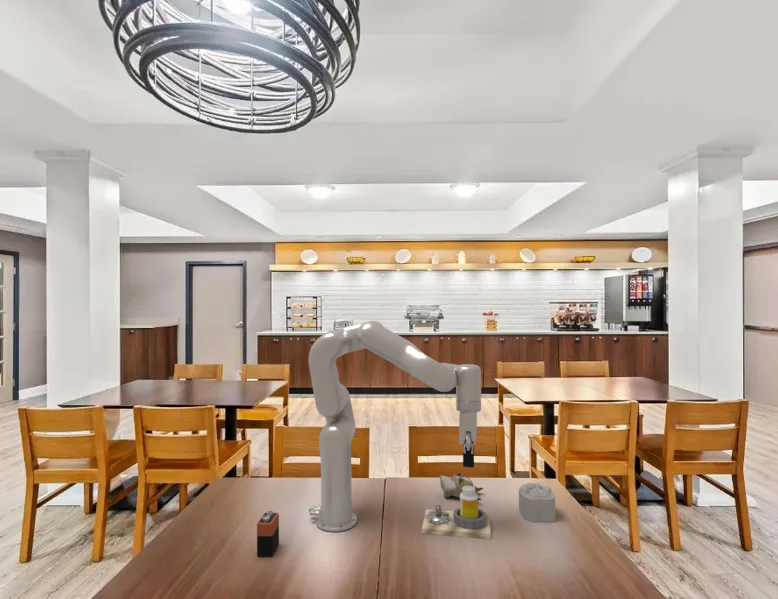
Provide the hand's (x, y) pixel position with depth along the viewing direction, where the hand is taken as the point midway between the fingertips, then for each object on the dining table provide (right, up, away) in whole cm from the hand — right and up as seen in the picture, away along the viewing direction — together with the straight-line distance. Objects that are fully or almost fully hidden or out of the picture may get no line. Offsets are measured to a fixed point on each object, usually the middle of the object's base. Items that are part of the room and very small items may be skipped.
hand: (468, 461), depth 142 cm
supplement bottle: (0, -19, 0) cm, 19 cm away
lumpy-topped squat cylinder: (+23, -20, +9) cm, 32 cm away
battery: (-58, -21, -13) cm, 63 cm away
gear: (-9, -19, +2) cm, 21 cm away
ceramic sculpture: (+1, -21, +21) cm, 30 cm away
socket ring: (0, -18, 0) cm, 18 cm away
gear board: (-4, -20, +1) cm, 20 cm away
